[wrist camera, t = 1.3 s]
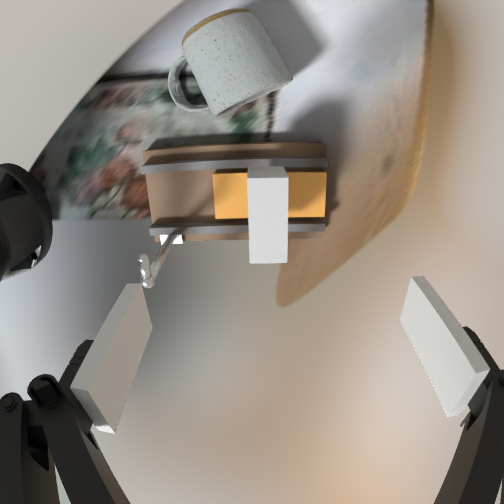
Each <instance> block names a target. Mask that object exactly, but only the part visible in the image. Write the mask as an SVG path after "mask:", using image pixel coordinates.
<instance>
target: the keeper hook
mask: <svg viewBox="0 0 504 504" xmlns="http://www.w3.org/2000/svg"><path fill="white" fill-rule="evenodd" d="M160 239H161V244H162V246H161V248H160V249H159V251H158V253H157V255H156V257H155V258H154V260H153V262H152V264H151V265H150V263H149V258H148V255H147V254H145V253H141V254H139V256H138V263H139V268H140V272H141V277H142V278H141V284H142V285H143V286H144V287H145V288H151V287H152V286H153V285H154V283H155V277H156V275H157V273H158V271H159V269H160V267H161V265H162V263H163V261H164V259H165V257H166V255H167V254H168V252H169V249H170V248H171V246H172V244H182V243H183V235H160Z"/></svg>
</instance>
